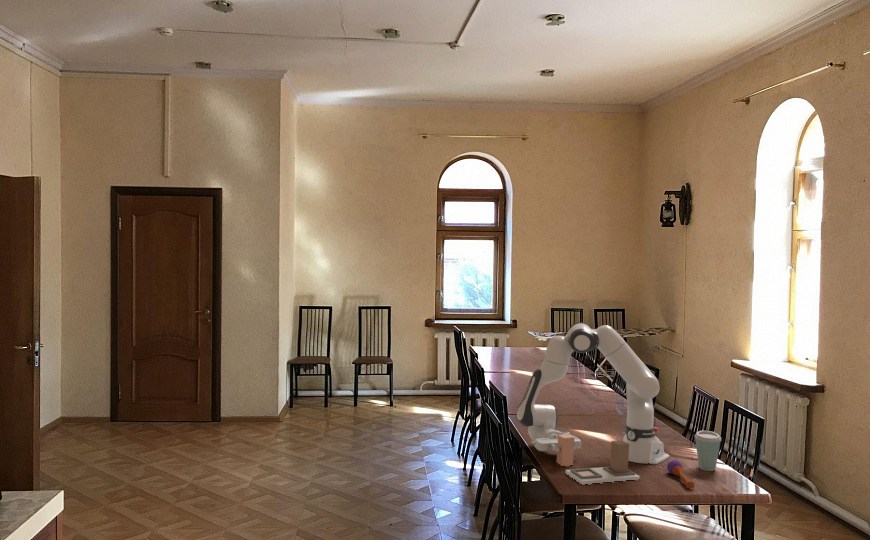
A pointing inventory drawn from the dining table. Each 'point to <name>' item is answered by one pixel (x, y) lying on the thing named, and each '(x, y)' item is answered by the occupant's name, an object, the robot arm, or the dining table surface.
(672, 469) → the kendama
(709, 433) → the disposable coffee cup
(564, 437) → the terracotta pillar
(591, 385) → the dining table surface
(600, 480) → the board
